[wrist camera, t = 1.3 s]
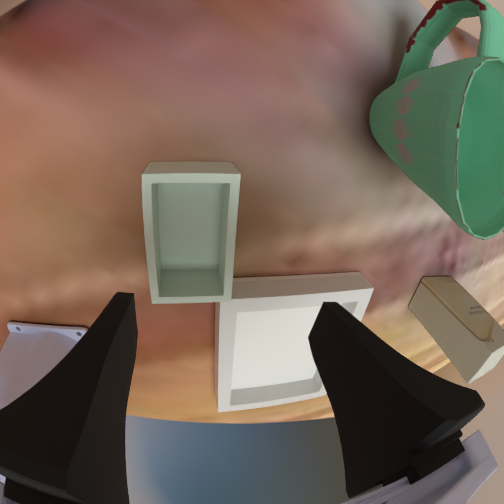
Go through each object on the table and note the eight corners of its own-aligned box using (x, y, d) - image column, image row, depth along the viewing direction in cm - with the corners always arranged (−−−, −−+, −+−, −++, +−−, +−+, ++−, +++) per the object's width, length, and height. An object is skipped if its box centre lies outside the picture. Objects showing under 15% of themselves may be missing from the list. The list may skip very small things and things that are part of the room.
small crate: (155, 273, 20) (151, 303, 17) (150, 161, 16) (141, 174, 13) (224, 271, 21) (231, 301, 18) (231, 161, 17) (240, 174, 14)
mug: (425, 186, 21) (514, 238, 12) (331, 177, 19) (432, 244, 10) (439, 32, 14) (534, 34, 5) (343, -13, 11) (445, -56, 3)
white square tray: (214, 393, 28) (217, 412, 26) (216, 278, 20) (220, 299, 18) (318, 379, 30) (325, 395, 28) (359, 271, 23) (374, 288, 21)
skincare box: (451, 275, 27) (516, 338, 17) (436, 304, 30) (493, 369, 19) (420, 276, 26) (494, 352, 16) (404, 309, 28) (467, 386, 18)
